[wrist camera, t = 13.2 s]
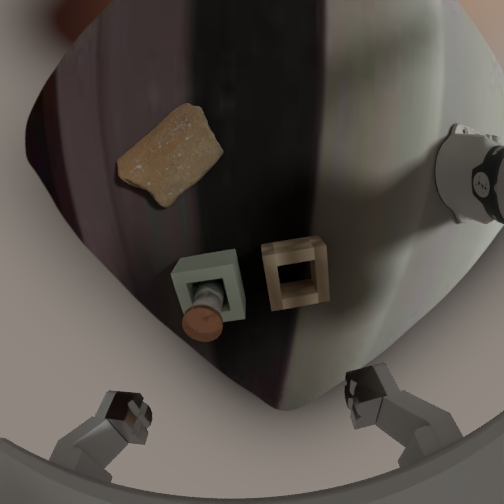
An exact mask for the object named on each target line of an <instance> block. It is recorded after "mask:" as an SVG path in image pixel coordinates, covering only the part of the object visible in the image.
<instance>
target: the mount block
mask: <svg viewBox="0 0 504 504" xmlns="http://www.w3.org/2000/svg"><path fill="white" fill-rule="evenodd" d="M261 250H262V258H263V264H264V270H265V276H266V281H267V287H268V293H269V299H270V305H271V311H277V310H283V309H289V308H294V307H300V306H306V305H311V304H317V303H322V302H327V301H330V293H329V275H328V260H327V247H326V244H325V243H324V242H323V241H322V239H321V238H320V237H319V235H315V236H309V237H303V238H297V239H291V240H285V241H278V242H272V243H266V244H261ZM305 261H310V271H311V278H310V279H304V280H299V281H293V282H287V283H281V284H280V282H279V276H278V269H277V266H281V265H287V264H293V263H299V262H305Z"/></svg>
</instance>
